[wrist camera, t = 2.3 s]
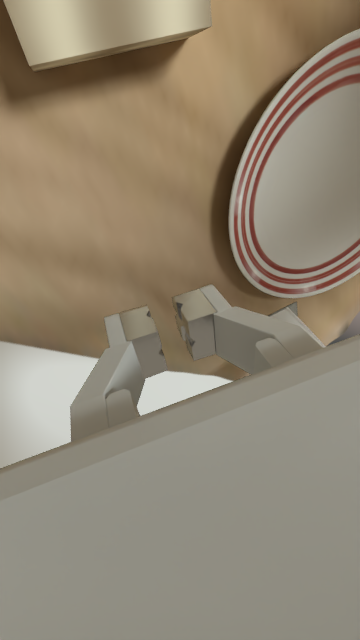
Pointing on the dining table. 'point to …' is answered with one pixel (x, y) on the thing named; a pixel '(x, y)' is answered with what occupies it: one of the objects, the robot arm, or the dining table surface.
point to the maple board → (100, 27)
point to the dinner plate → (303, 181)
